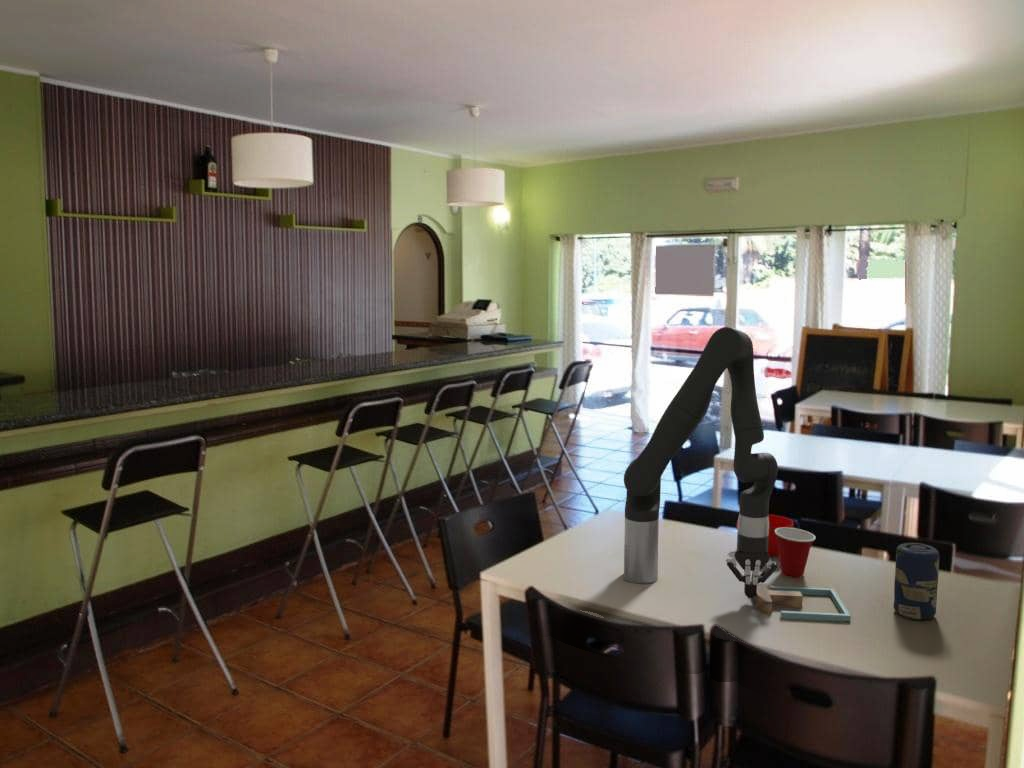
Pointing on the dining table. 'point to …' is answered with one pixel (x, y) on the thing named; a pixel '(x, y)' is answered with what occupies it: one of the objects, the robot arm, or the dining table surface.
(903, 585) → the canister
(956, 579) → the dining table surface
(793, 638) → the dining table surface
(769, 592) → the t block
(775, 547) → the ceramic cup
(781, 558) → the plastic cup
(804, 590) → the dock
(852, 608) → the dining table surface
